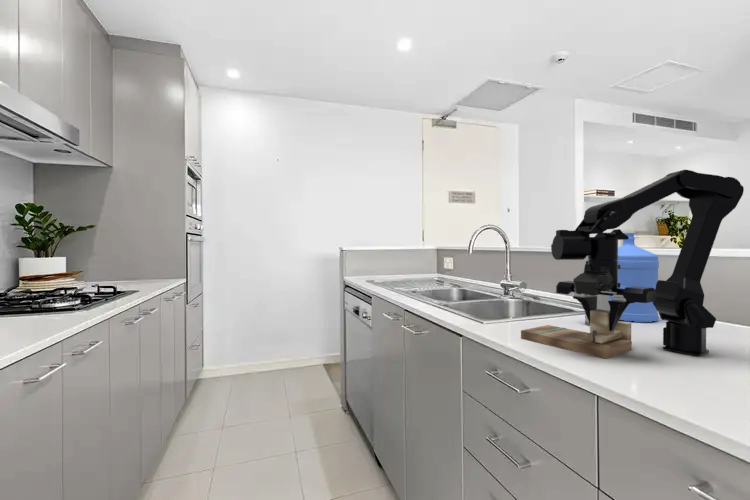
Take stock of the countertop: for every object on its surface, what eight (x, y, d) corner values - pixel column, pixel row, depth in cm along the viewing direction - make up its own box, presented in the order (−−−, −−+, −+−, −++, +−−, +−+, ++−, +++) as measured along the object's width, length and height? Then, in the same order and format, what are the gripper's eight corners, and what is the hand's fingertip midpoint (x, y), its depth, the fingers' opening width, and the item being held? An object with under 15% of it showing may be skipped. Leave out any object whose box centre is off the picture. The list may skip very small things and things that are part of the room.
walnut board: (631, 349, 81) (631, 340, 81) (605, 358, 74) (606, 348, 74) (547, 332, 98) (547, 324, 98) (520, 338, 91) (520, 330, 91)
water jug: (671, 323, 110) (672, 232, 109) (620, 323, 110) (620, 232, 109) (635, 313, 125) (635, 234, 125) (590, 313, 125) (590, 234, 125)
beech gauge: (631, 344, 83) (631, 309, 83) (605, 352, 76) (606, 314, 76) (607, 339, 87) (607, 306, 87) (581, 347, 81) (582, 310, 81)
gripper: (542, 259, 84) (542, 325, 84) (634, 262, 68) (633, 343, 68) (568, 258, 90) (568, 320, 90) (658, 261, 74) (657, 335, 74)
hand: (602, 329), depth 81 cm, fingers closed on beech gauge, 3 cm apart
